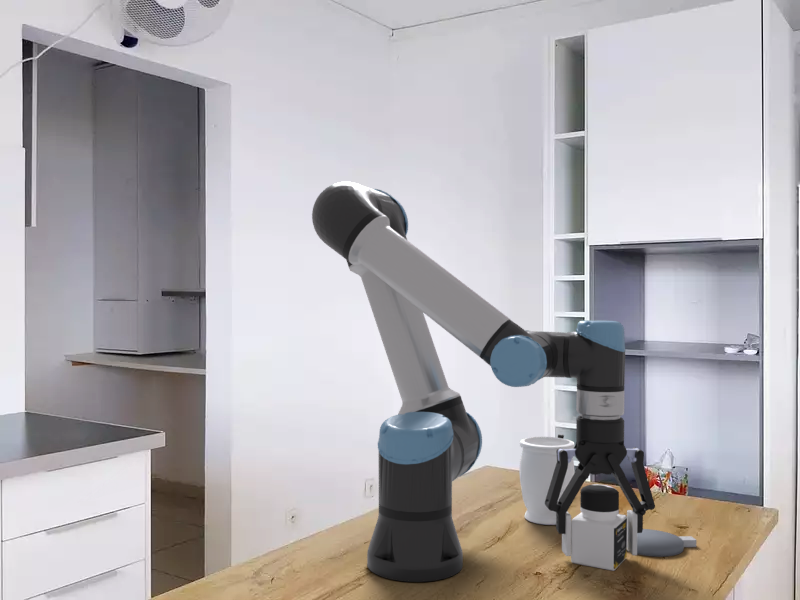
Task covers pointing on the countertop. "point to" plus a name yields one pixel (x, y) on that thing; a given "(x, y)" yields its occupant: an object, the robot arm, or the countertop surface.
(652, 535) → the pad
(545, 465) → the jar
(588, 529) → the medicine bottle
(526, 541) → the countertop surface
